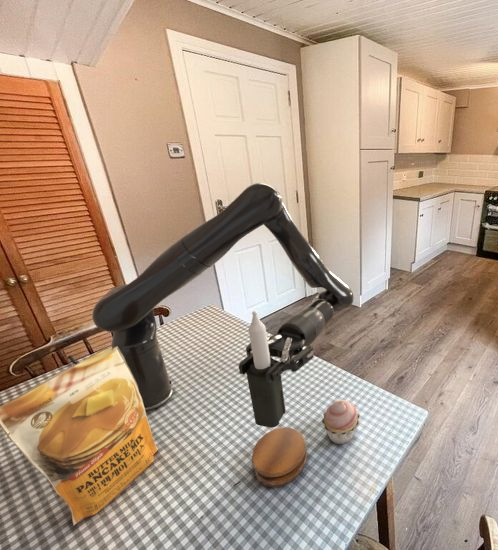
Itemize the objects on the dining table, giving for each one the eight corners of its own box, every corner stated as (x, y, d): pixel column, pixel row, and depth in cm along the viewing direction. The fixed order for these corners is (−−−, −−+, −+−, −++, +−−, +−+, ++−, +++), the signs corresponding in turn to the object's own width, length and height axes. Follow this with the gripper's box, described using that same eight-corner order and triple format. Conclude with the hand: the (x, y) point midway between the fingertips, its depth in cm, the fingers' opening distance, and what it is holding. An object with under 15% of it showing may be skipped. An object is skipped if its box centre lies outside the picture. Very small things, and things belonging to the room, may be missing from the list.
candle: (276, 428, 60) (260, 319, 51) (253, 424, 61) (232, 316, 52) (287, 409, 65) (274, 305, 55) (265, 405, 66) (249, 303, 56)
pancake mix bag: (49, 524, 55) (-23, 407, 45) (150, 439, 72) (114, 339, 62) (72, 539, 53) (3, 419, 43) (171, 448, 70) (137, 345, 60)
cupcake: (368, 434, 74) (369, 402, 70) (337, 458, 68) (336, 424, 64) (345, 411, 80) (344, 381, 76) (315, 431, 74) (312, 399, 71)
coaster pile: (243, 485, 62) (240, 470, 60) (266, 437, 73) (264, 423, 71) (298, 491, 61) (296, 477, 59) (313, 442, 72) (312, 428, 70)
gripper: (275, 309, 71) (220, 349, 57) (329, 320, 67) (284, 367, 52) (279, 336, 74) (227, 380, 60) (331, 348, 70) (288, 400, 55)
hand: (254, 374), depth 56 cm, fingers closed on candle, 5 cm apart
